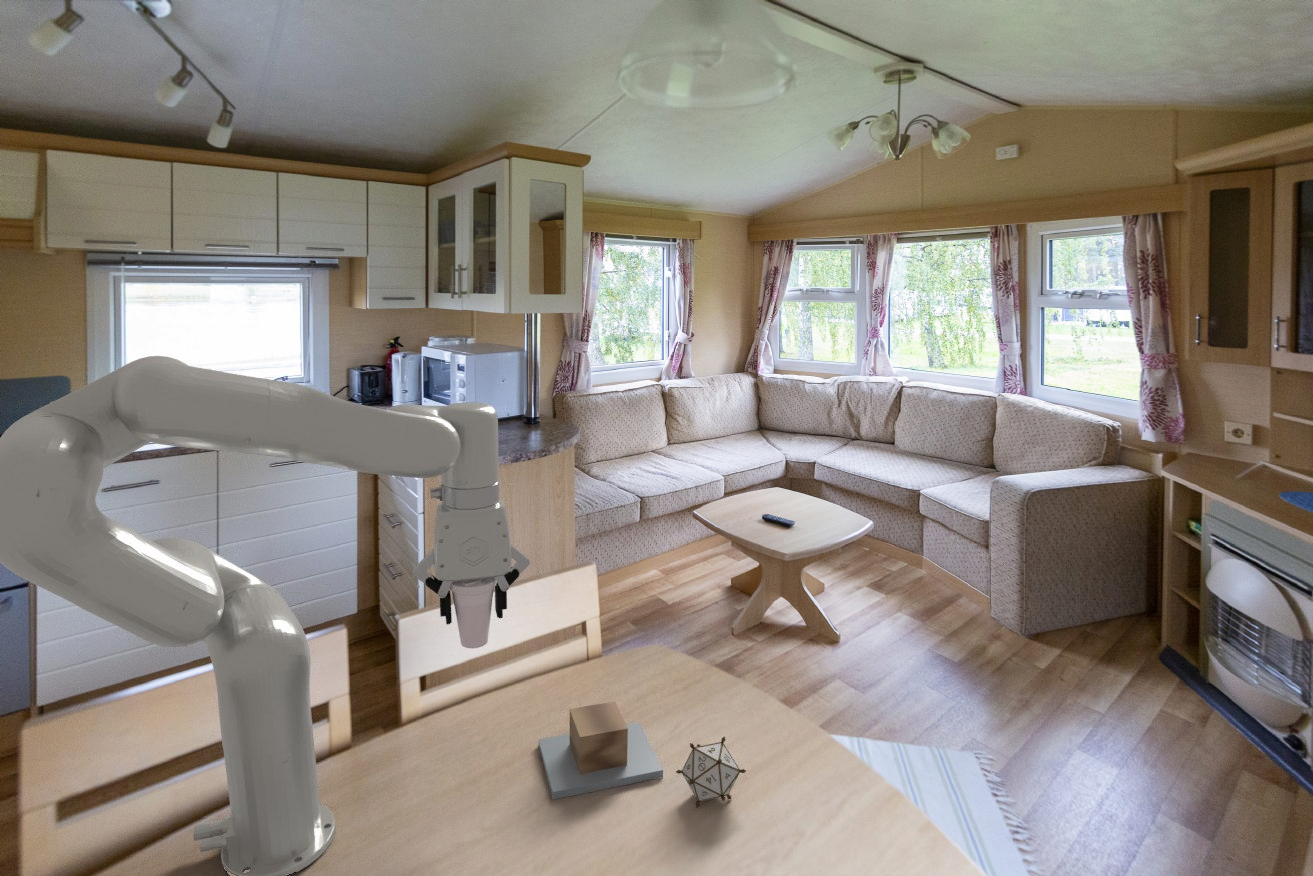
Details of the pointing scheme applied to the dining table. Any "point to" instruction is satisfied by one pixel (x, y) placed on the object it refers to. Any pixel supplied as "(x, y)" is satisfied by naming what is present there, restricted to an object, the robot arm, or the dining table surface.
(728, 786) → the game die
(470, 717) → the dining table surface
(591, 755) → the walnut block
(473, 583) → the smoothie
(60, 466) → the robot arm
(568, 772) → the plate
